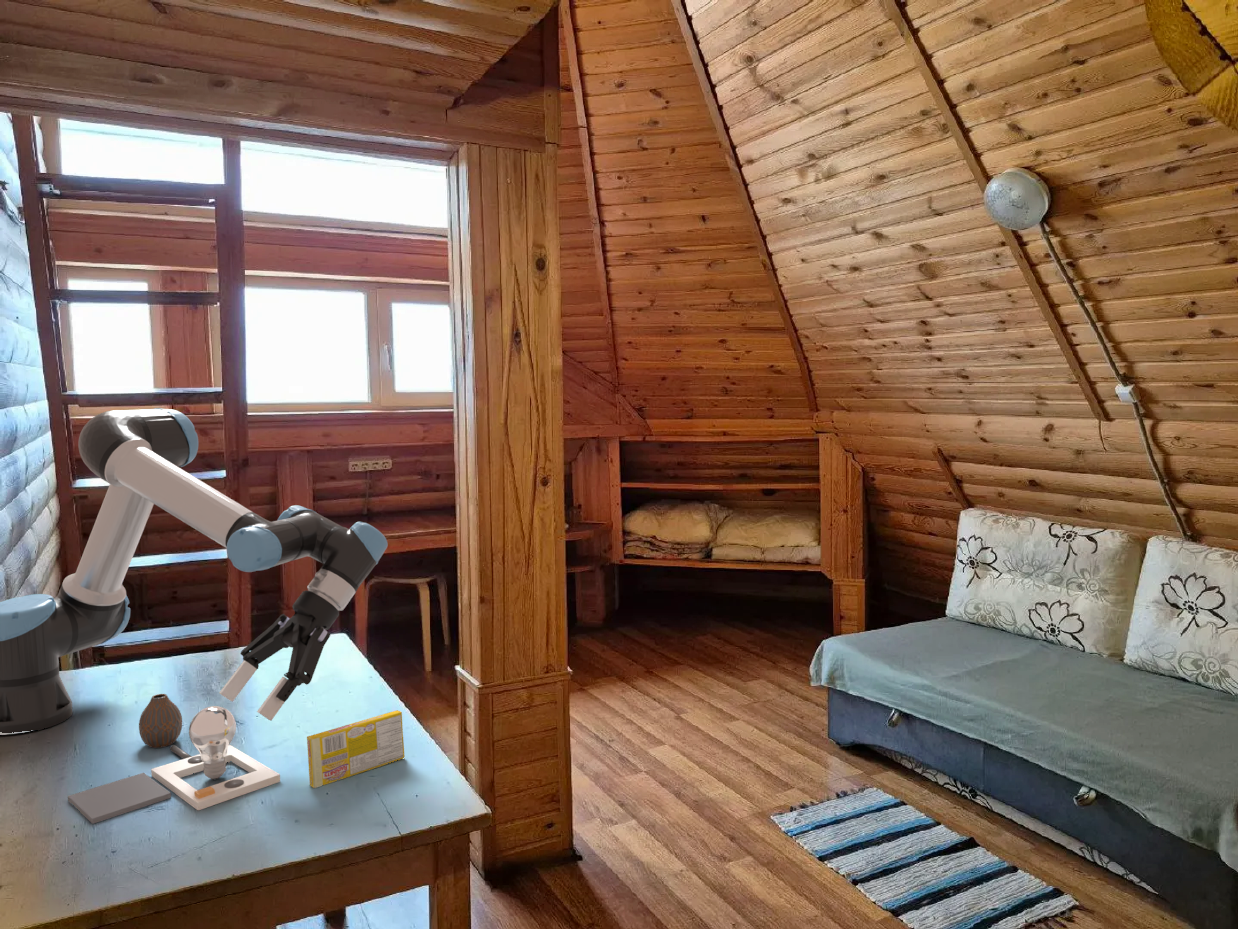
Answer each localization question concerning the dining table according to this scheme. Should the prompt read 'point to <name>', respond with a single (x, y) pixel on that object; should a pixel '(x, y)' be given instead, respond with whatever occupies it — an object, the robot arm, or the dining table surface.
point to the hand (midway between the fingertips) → (244, 707)
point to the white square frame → (218, 792)
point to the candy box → (355, 748)
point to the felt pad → (118, 797)
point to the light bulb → (213, 738)
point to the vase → (160, 722)
